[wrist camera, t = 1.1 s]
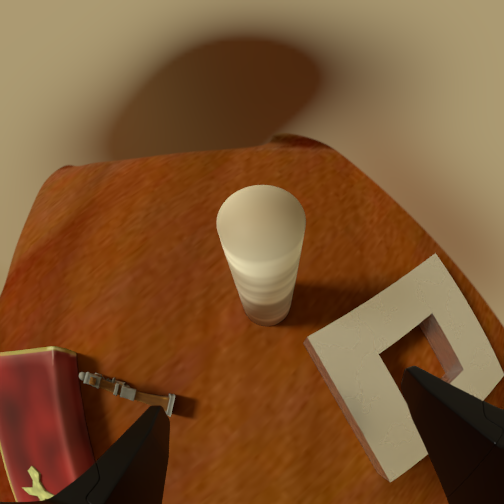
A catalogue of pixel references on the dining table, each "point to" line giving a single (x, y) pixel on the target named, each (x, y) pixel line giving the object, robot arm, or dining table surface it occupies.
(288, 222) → the ball
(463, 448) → the robot arm
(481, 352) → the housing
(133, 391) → the wooden post with brackets
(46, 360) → the hardcover book
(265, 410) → the dining table surface
